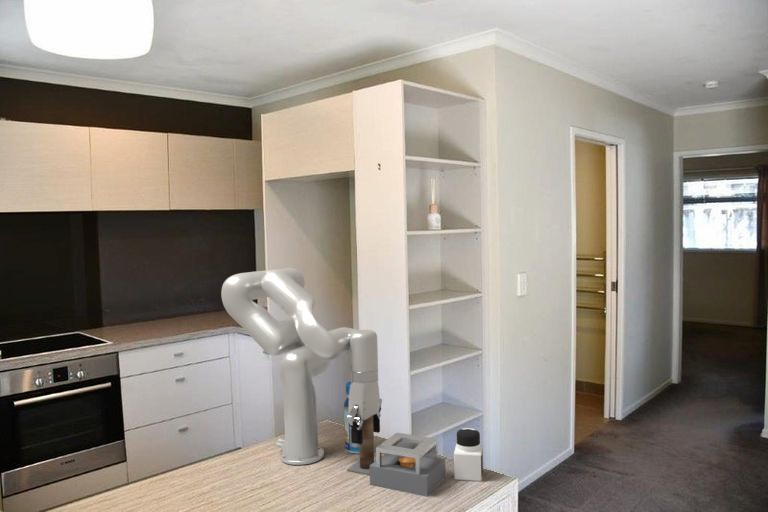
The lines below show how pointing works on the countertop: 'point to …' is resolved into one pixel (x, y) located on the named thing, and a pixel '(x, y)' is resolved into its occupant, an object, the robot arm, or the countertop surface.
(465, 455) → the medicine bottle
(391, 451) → the frame
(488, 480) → the countertop surface
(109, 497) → the countertop surface
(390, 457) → the box
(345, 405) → the beverage bottle
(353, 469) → the pad
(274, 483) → the countertop surface
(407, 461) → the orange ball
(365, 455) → the brown rod
